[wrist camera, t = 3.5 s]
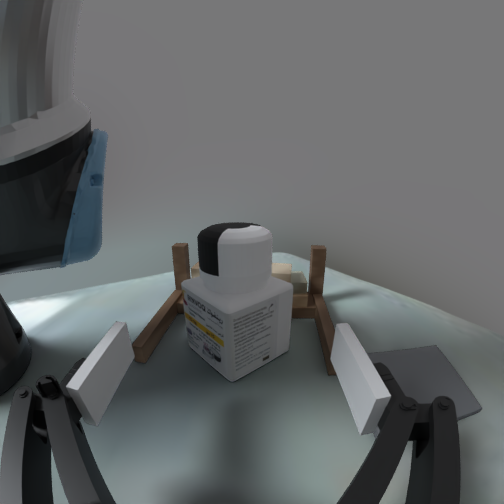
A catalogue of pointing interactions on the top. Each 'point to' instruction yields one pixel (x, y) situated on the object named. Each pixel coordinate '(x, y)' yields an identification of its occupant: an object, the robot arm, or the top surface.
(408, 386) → the rubber mat
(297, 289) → the offcut stack
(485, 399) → the top surface
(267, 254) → the container
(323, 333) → the walnut rack
